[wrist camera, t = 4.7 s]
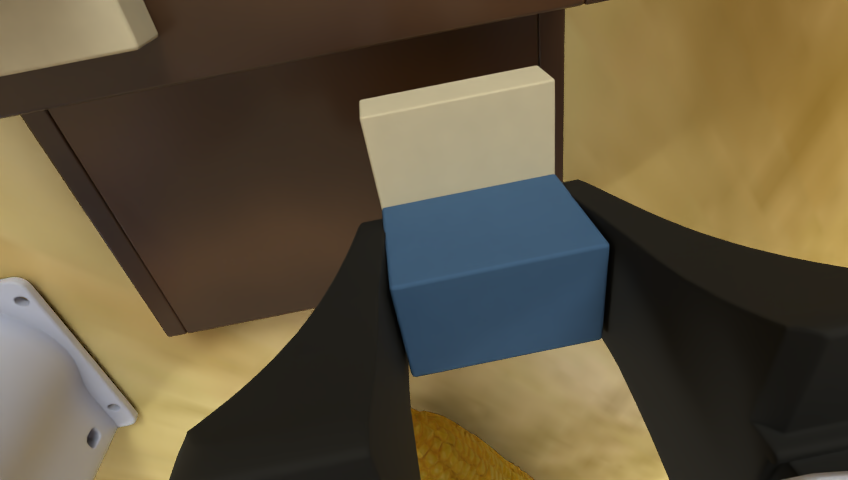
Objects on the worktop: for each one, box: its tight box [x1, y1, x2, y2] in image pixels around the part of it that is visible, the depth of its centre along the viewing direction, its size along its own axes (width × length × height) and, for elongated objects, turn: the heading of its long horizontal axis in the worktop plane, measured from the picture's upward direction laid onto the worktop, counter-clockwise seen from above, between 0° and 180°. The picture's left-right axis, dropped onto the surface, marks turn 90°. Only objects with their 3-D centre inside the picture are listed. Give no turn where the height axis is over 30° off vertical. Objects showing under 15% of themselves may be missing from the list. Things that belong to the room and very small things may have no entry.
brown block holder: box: [0, 0, 608, 337], centre depth 13 cm, size 20×16×6 cm
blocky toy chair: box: [359, 65, 609, 377], centre depth 12 cm, size 8×4×4 cm, turn 9°
